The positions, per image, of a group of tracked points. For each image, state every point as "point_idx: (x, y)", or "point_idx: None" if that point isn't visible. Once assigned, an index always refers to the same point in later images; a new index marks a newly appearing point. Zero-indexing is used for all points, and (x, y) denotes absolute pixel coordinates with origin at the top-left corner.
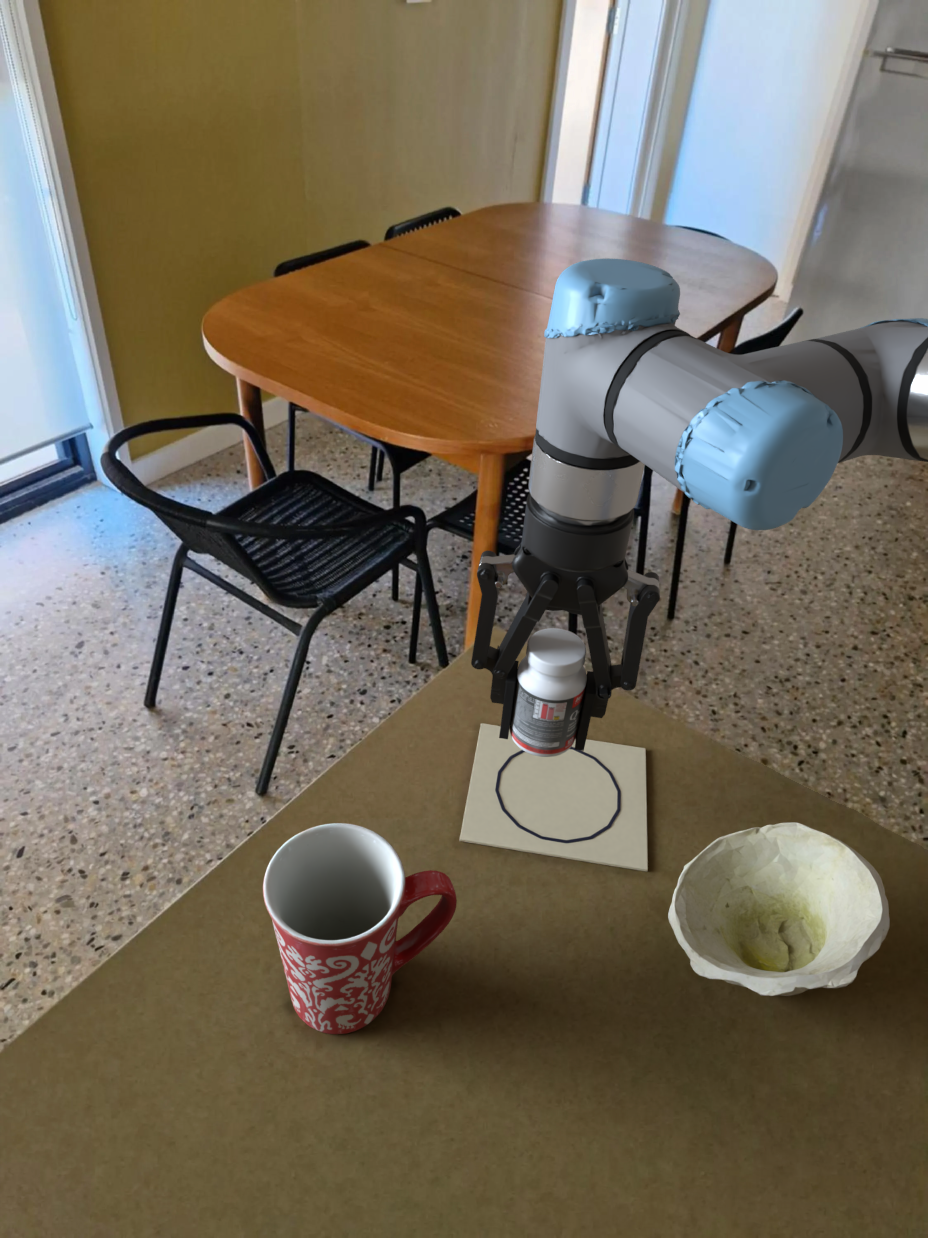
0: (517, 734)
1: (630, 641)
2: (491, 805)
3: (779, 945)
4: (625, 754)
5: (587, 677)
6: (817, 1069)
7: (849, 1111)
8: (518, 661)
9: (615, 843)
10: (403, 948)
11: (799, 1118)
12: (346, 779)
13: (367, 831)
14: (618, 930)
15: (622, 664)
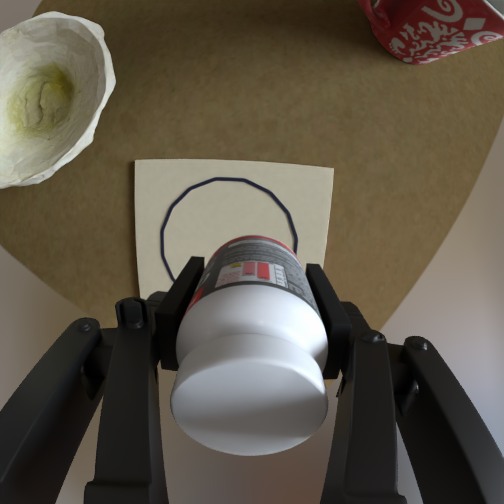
0: (297, 260)
1: (30, 413)
2: (301, 217)
3: (44, 104)
4: None
5: (176, 356)
6: None
7: None
8: None
9: (164, 186)
10: (378, 13)
11: (74, 8)
12: (436, 237)
13: (492, 7)
14: (167, 90)
15: (101, 375)
